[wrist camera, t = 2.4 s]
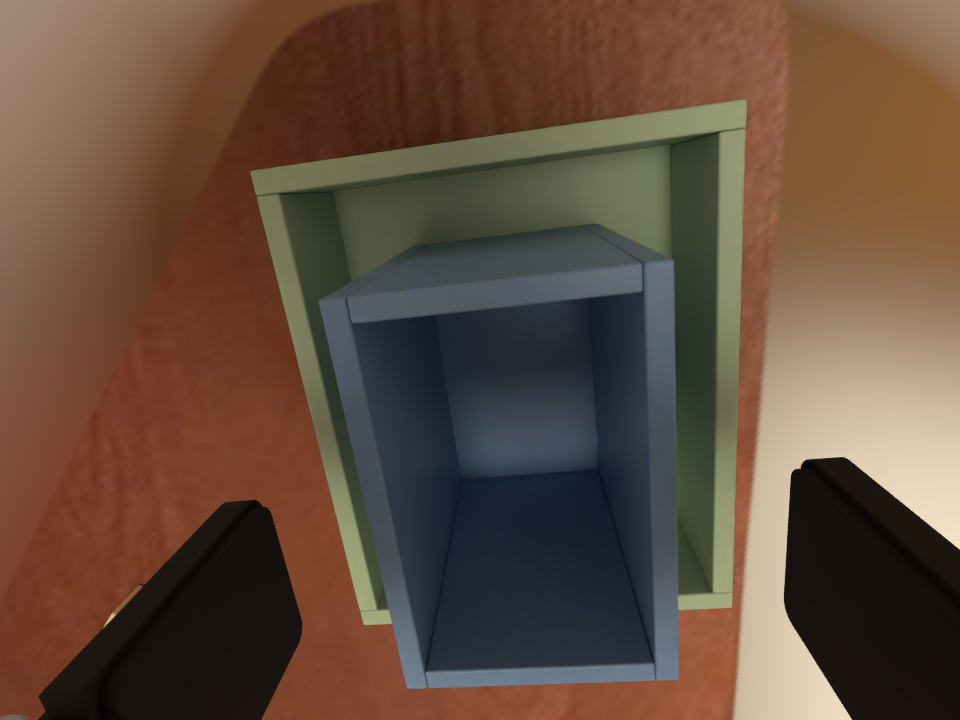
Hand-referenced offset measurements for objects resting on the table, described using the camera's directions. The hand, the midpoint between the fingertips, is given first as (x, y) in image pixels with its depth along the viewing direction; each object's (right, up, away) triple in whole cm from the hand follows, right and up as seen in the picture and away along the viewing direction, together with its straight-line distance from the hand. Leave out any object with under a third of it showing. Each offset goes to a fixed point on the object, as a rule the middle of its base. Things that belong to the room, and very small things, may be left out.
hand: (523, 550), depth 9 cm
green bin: (+1, +4, +12) cm, 13 cm away
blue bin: (0, +3, +9) cm, 9 cm away
